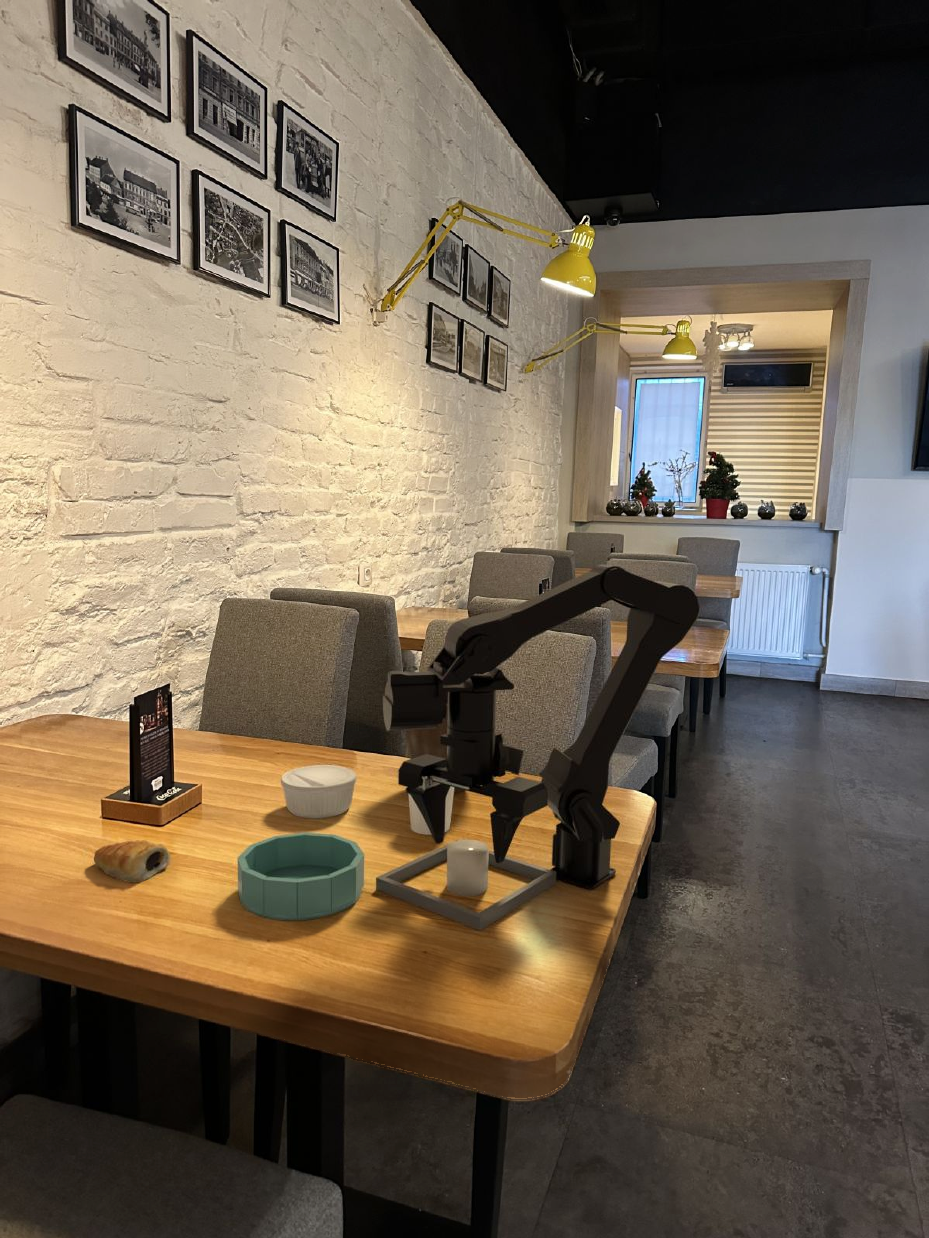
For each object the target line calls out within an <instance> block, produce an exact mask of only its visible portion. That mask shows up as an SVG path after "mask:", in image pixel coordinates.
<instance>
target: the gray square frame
mask: <svg viewBox="0 0 929 1238" xmlns="http://www.w3.org/2000/svg"><path fill="white" fill-rule="evenodd" d="M455 841H458V840H457V839H456V840H455ZM450 843H451V842H450ZM450 843H448V844H447V843H446V844H445V845H443V846H441V847H438V848H437V849H434V850H433V851H430V852H429V853H426V854H424V855H422V856H419V857H417V858H416V859H414V860H410V861H408V862H407V863H404V864H402V865H400V866H398V867H396V868H394V869H391V870H390V871H387V872H385V873H382V874H380V875H379V876H377V877H375V890H377V892H378V891H379V892H381V893H384V894H386V895H389V896H391V897H394V898H396V899H399V900H402V901H404V902H407V903H409V904H412V905H414V906H417V907H420V908H422V909H424V910H427V911H429V912H431V913H433V914H434V913H435V914H437V915H439V916H442V917H445V918H447V919H449V920H453V921H455V922H458V923H460V924H462V925H465V926H466V927H467V926H468V927H469V928H472V929H475V930H477V931H482V930H483V929H485V928H487V927H488V926H491V925H492V924H493V923H495V922H497V921H498V920H499V919H501V918H503V917H504V916H506V915H508V914H509V913H511V912H512V911H514V910H516V909H517V908H519V907H521V906H522V905H524V904H526V903H527V902H529V901H530V900H532V899H533V898H536V897H537V896H538V895H540V894H541V893H543V892H544V891H546V890H548V889H550V888H551V887H553V886H554V885H556V884H557V878H556V872H555V871H552V870H550V869H549V868H546V867H543V866H540V865H536V864H533V863H529V862H527V861H525V860H520V859H518V858H514V857H512V856H508V855H506V857H505V859H504V861H503V862H502V863H500V864H498V863H496V860H495V856H494V850H493V851H492V850H490V849H489V858H488V866H493V867H495V868H499V869H501V870H505V871H506V872H507V871H508V872H509V873H510V872H511V873H514V874H516V875H520V876H522V877H525V878H529V879H531V880H532V881H530V882H529V883H527V884H524V886H522V887H520V888H518V889H517V890H515V891H513V892H511V893H510V894H508V895H506V896H505V897H503V898H501V899H500V900H498V901H496V902H495V903H493V904H491V905H490V906H488V907H486V908H484V909H483V910H481V911H475V910H473V909H470V908H468V907H465V906H462V905H460V904H457V903H454V902H452V901H449V900H446V899H444V898H441V897H439V896H436V895H433V894H431V893H427V892H426V891H423V890H420V889H418V888H415V887H412V886H410V885H408V884H404V883H402V882H403V881H405V880H407V879H410V878H411V877H413V876H415V875H417V874H419V873H422V872H423V871H427V870H428V869H430V868H432V867H434V866H436V865H438V864H441V863H442V862H444V861H447V846H448V845H449V844H450Z"/></svg>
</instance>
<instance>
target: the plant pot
mask: <svg viewBox="0 0 929 1238" xmlns="http://www.w3.org/2000/svg"><path fill="white" fill-rule="evenodd" d="M446 701H447V711H446V717H445V719H444V720H443V722H442V724H438V725H437V727H436V728H435V729H416V730H403V733H404V737H405V742H406V747H407V751H408V755H409V757H410V758H409V759H413V758H416V757H419V756H422V755H425V754H428V755H432V756H437V757H441V758H445V759H447V745H442V744H440V737H441V735H445V734H447V728H448V692H446ZM462 791H464V790H463V789H459V788H455V787H454V794H459V793H460V792H462Z"/></svg>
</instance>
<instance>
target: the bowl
mask: <svg viewBox="0 0 929 1238" xmlns="http://www.w3.org/2000/svg"><path fill="white" fill-rule="evenodd" d="M364 886H365V853H364V851H363V850H362V849H361V847H360V846H359V845H358V842H356V841H354V840H352V839H348V838H345V837H342V836H340V835H337V834H333V833H332V834H330V833H318V832H298V833H289V834H283V835H282V834H281V835H276V836H275V835H274V836H271V837H268V838H266V839H263V840H261V841H258V842H254V843H252V844H250V845H248V847H246V849H244V850H243V852H241V853H240V854H239V855H238V856H237V890H238V894H239V902H240V903H241V905H242V907H243V908H244V909H245V910H247V911H248V912H250V913H251V914H254V915H256V916H259V917H262V918H266V919H271V920H278V921H289V922H291V921H307V920H315V919H320V918H324V917H328V916H332V915H335V914H338V913H340V912H342V911H345V910H346V909H348V908H350V907H352V906H353V905H354V904H355V903H357V901H358V900H359V899H360V898H361V895H362V891H363V888H364Z"/></svg>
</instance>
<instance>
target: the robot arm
mask: <svg viewBox="0 0 929 1238" xmlns="http://www.w3.org/2000/svg"><path fill="white" fill-rule="evenodd" d="M610 601H612V602H614V603H615V604H617V605H620V606H622V607H625V608H627V609H629V611H628V612H629V613H628V616H627V618H626V619H627V622H626V624H627V625H626V641H625V643H624V645H623V647H622V649H621V651H620V653H619V655H618V657H617V659H616V661H615V663H614V665H613V667H612V669H611V671H610V673H609V675H608V677H607V679H606V681H605V683H604V685H603V687H602V688H601V691H600V693H599V694H598V696H597V699H596V701H595V703H594V705H593V707H592V708H591V711H590V712H589V715H588V716H587V719H586V720H585V723H584V725H583V726H582V729H581V730H580V732H579V734H578V736H577V738H576V740H575V741H574V742H573V744H571V745H570V746H569V747H568V748H566V749H565V750H564V751H563V752H562V751H561V750H560V749H558V748H557V747H554V748H553V749H552V751H551V752H550V755H549V758H548V761H547V763H546V765H545V767H544V768H543V769H542V770H541V771H540V772H539V773H538V776H539V777H541V780H540V781H537V780H536V779H535V780H534V779H531V778H525V777H522V776H519V775H520V772H521V767H522V763H523V758H524V754H525V750H522V749H520V748H516V747H512V746H508V745H504V737H503V736H502V735H503V733H502V732H496V725H497V724H496V721H497V716H496V715H497V714H496V713H497V691H511V690H513V689H515V684H514V683H512V682H511V681H510V680H509V679H508V678H507V677H506V676H505V674H504V672H503V670H501V668H498V667H499V666H500V665H502V664H503V663H504V662H506V661H508V659H510V658H512V657H513V656H514V655H515V654H516V653H517V652H518V651H519V650H520V649H521V647H522V646H523V645H525V644H526V643H527V642H528V641H530V640H531V639H533V638H536V637H537V636H539V635H541V634H543V633H546V632H548V631H549V630H551V629H554V628H556V627H558V626H560V625H562V624H565V623H566V622H568V621H571V620H572V619H574V618H577V617H579V616H581V615H583V614H585V613H587V612H589V611H592V610H593V609H595V608H598V607H599V606H601V605H604V604H605V603H608V602H610ZM700 611H701V605H700V604H699V600H698V597H697V595H696V594H695V592H694V591H693V590H692V589H691V588H690V587H689V586H685V585H683V584H679V583H678V584H676V583H671V582H664V581H658V580H656V581H653V580H650V579H647V578H644V577H642V576H640V575H637V574H634V573H632V572H629V571H627V570H625V568H622V567H621V566H618V565H610V564H597V565H594V567H592V568H591V569H590V570H589V571H587V572H585V573H582V574H580V575H579V576H576V577H574V578H572V579H570V580H568V581H566V582H564V583H561V584H559V585H558V586H555V587H553V588H550V589H549V590H546V591H544V592H542V593H540V594H538V595H536V596H534V597H532V598H530V599H528V600H525V601H523V602H521V603H519V604H517V605H514V606H513V607H509V608H507V609H503V610H502V609H501V610H497V611H491V612H486V613H480V614H476V615H473V616H470V617H466V618H461V619H460V620H459V619H458V620H457V621H455V622H454V623H453V624H451V625H450V626H449V627H448V629H447V632H446V634H445V637H444V645H443V647H442V648H441V649H440V651H438V653H437V655H436V656H435V657H434V659H432V661H431V663H430V664H429V665H428V667H427V668H426V671H411V672H409V671H408V672H406V671H401V670H390V671H388V672H387V681H386V684H385V688H384V695H382V710H383V711H382V712H383V713H382V714H383V723H384V727H385V730H386V731H387V732H391V731H393V732H394V731H404V730H416V729H435V728H436V727H437V725H438V724H442V722H443V720H444V719H445V717H446V711H447V701H446V692H448V728H447V734H445V735H441V737H440V744H442V745H447V759H445V758H441V757H437V756H432V755H428V754H425V755H422V756H419V757H416V758H413V759H411V758H409V759H407V760H404V761H403V762H402V763H401V765H400V766H399V768H398V770H397V771H398V772H397V773H398V775H397V783H398V786H401V787H405V793H406V794H407V795H408V794H410V795H411V796H412V798H413V800H414V802H415V803H416V805H417V807H418V809H419V810H420V812H421V814H422V816H423V818H424V820H425V822H426V824H427V826H428V828H429V830H430V832H431V834H432V835H431V837H432V838H433V841H434V843H435V844H437V845H440V844H441V843H443V842H444V839H445V833H446V832H445V804H446V796H447V794H448V791H449V789H450V787H455V788H459V789H463V790H462V791H467V792H470V793H475V794H477V795H482V796H484V797H489V798H491V805H492V807H493V808H494V809H495V811H494V810H493V811H492V812H490V813H489V815H490V817H489V818H490V825H491V836H492V837H491V838H492V847H493V852H494V856H495V860H496V863H498V864H500V863H502V862H503V861H504V859H505V857H506V856H507V854H508V851H509V849H510V846H511V844H512V841H513V840H514V836H515V835H516V832H517V830H518V827H519V825H520V824H521V822H522V821H523V819H524V818H525V817H528V816H529V815H531V814H533V813H535V812H537V811H540V810H542V809H544V808H546V807H548V808H549V809H550V810H551V811H552V814H553V816H554V818H555V819H557V820H558V821H559V823H557V824H555V833H554V834H553V835H552V843H551V844H552V845H551V846H552V848H551V866H553V867H552V868H551V869H549V870H552V871H555V872H556V880H561V881H564V882H567V883H569V884H572V885H577V886H579V887H582V888H585V889H587V890H588V889H589V890H592V889H595V888H597V887H598V886H599V885H601V884H602V883H604V882H605V881H607V880H608V879H611V877H613V876H614V875H615V874H617V873H616V871H617V870H616V869H615V868H612V867H611V854H612V853H611V851H612V850H611V849H612V840H613V839H615V838H616V836H617V833H618V830H619V828H620V825H621V823H620V821H619V820H618V819H617V818H616V817H615V816H614V815H613V814H612V813H611V812H610V811H609V810H608V808H606V807H605V806H604V801H605V799H606V798H605V797H606V795H607V792H608V788H609V775H610V762H611V759H612V757H613V755H614V753H615V751H616V749H617V747H618V745H619V743H620V742H621V739H622V736H623V735H624V733H625V731H626V729H627V727H628V725H629V723H630V721H631V719H632V718H633V715H634V714H635V711H636V709H637V708H638V706H639V703H640V701H641V699H642V697H643V696H644V694H645V692H646V690H647V688H648V686H649V684H650V682H651V680H652V678H653V675H654V674H655V672H656V669H657V668H658V666H659V665H660V662H661V661H662V659H663V657H664V656H666V655H667V654H668V653H669V652H670V651H672V650H673V649H674V648H675V647H676V646H678V645H679V644H680V643H681V642H682V641H683V640H684V638H685V637H686V636H687V635H688V633H689V632H690V630H691V628H693V626H694V624H695V623H696V622H697V620H698V618H699V615H700ZM506 772H509V773H510V774H513V775H517V777H514V778H512V779H510V780H508V781H505V782H501V781H497V780H495V778H496V777H497V778H502V777H504V776H506Z"/></svg>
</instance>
